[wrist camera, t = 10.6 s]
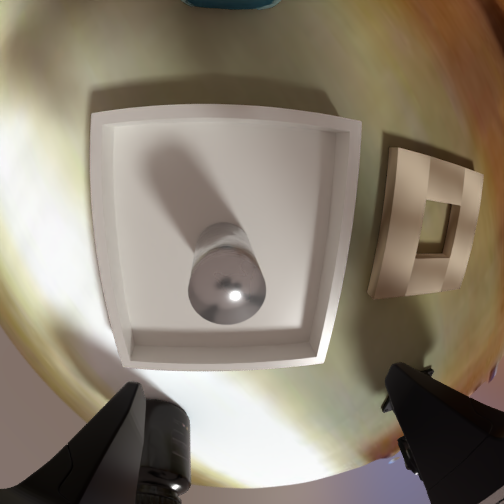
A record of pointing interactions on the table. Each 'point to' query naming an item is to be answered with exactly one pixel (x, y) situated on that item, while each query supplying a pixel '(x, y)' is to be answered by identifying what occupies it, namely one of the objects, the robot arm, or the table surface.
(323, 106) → the table surface
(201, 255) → the steel pin
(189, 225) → the tray
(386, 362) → the table surface
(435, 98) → the table surface
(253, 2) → the sunglasses
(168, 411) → the supplement bottle
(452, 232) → the socket block
